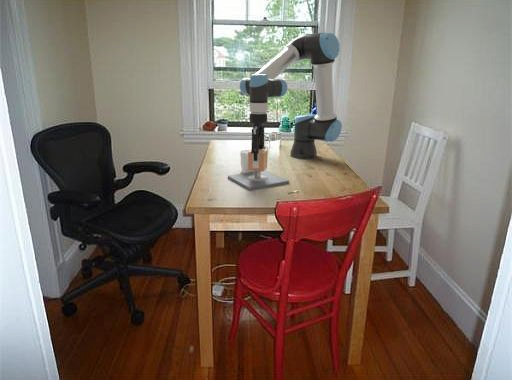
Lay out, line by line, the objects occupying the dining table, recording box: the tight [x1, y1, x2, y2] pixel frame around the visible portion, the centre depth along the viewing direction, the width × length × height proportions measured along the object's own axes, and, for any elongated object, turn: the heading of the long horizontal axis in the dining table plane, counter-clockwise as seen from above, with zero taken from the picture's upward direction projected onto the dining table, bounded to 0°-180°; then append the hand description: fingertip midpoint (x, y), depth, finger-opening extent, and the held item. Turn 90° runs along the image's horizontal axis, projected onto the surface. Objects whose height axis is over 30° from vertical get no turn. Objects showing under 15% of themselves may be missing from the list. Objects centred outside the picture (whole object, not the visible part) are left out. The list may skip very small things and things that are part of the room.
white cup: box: [239, 149, 254, 173], centre depth 174 cm, size 8×8×10 cm
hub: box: [227, 169, 290, 191], centre depth 161 cm, size 20×20×5 cm
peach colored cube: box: [248, 149, 268, 171], centre depth 158 cm, size 7×7×8 cm
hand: (257, 165), depth 159 cm, fingers closed on peach colored cube, 7 cm apart
